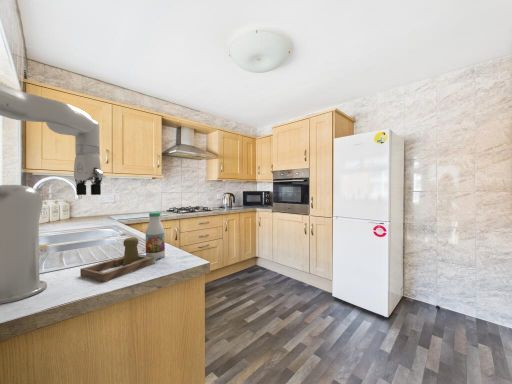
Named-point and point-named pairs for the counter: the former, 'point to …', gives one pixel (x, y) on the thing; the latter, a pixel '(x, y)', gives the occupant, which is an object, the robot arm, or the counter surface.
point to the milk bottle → (155, 236)
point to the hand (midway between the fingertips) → (88, 194)
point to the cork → (130, 251)
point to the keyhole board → (94, 270)
